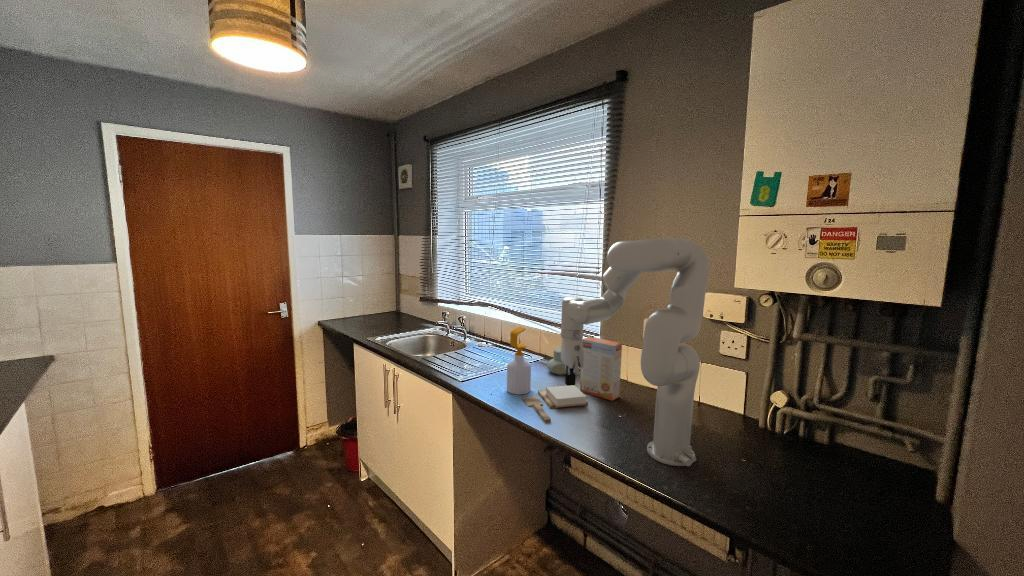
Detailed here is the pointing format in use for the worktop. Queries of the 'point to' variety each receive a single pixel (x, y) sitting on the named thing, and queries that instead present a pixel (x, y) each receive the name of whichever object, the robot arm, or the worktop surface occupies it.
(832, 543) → the worktop surface
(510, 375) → the soap bottle
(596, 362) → the cracker box
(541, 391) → the cork board
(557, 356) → the air freshener
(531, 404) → the wooden turner
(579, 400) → the ceramic tile
